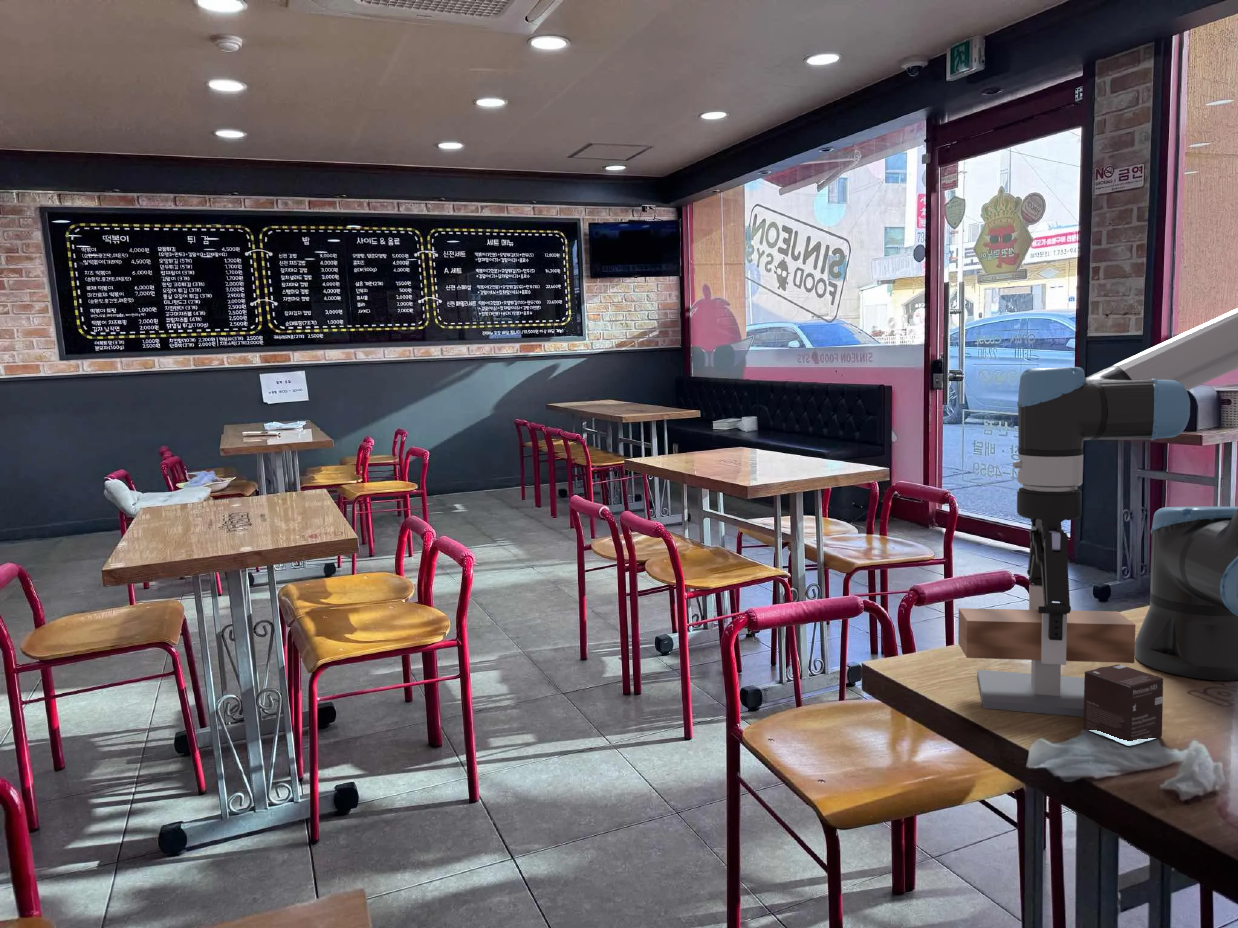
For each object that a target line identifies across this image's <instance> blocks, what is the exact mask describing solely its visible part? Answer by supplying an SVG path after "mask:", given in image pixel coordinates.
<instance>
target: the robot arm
mask: <svg viewBox="0 0 1238 928" xmlns="http://www.w3.org/2000/svg"><path fill="white" fill-rule="evenodd" d="M1237 369H1238V307H1236V308H1235V309H1232V310H1230V311H1228V312H1226V313H1223V314H1221V315H1219V316H1217V317H1215V318H1213V319H1211V320H1209V321H1205V322H1204V323H1202V324H1200V325H1197V326H1195V327H1193V328H1191V329H1189V330H1187V331H1184V332H1182V333H1180V334H1178V335H1176V336H1173V337H1172V338H1170V339H1167V340H1165V341H1163V342H1161V343H1158V344H1156V345H1154V346H1152V347H1150V348H1147V349H1145V350H1143V351H1141V352H1139V353H1137V354H1135V355H1132V356H1130V357H1128V358H1125V359H1123V360H1121V361H1119V362H1117V363H1115V364H1113V365H1111V366H1109V367H1107V368H1104V369H1102V370H1100V371H1097V372H1095V373H1093V374H1090V375H1088V376H1087V377H1086V376H1085V371H1084V369H1083V368H1082V367H1080V366H1065V367H1063V366H1061V367H1060V366H1059V367H1032V368H1027V369H1026V370H1024V371H1023V372H1022V373H1021V375H1020V379H1019V385H1018V395H1017V397H1018V399H1017V403H1016V404H1017V422H1018V423H1017V424H1018V425H1017V427H1018V433H1017V434H1018V437H1017V439H1018V440H1017V441H1018V448H1017V452H1018V453H1017V454H1018V456H1017V458H1018V459H1019V460H1016V461H1013V462H1012V467H1013V469H1018V471H1017V483H1019V485H1022V486H1020V487H1019V488H1018V489H1017V490H1016V513H1017V515H1018V516H1020V517H1021V518H1024V519H1027V520H1030V522H1031V528H1030V529H1029V538H1030V539H1029V540H1030V542H1029V544H1030V545H1029V553H1028V554H1029V556H1028V567H1027V571H1026V574H1027V576H1028V582H1029V587H1028V590H1029V591H1028V597H1029V598H1028V610H1038V613H1042V641H1041V662H1042V663H1044V664H1058V665H1061V666H1067V661H1066V642H1067V613H1070V611H1072V606H1071V601H1070V585H1069V584H1070V583H1069V581H1070V580H1069V563H1068V562H1069V561H1068V559H1069V558H1068V540H1069V535H1068V534H1067V532H1065V530H1064V529H1062V528H1063V527H1062V523H1063V522H1064V521H1073V520H1077V519H1079V518H1080V517H1081V516H1082V505H1083V504H1082V499H1083V492H1082V491H1081V489H1080V488H1078V487H1079V486H1081V485H1082V484H1083V475H1084V474H1083V473H1084V441H1096V440H1150V441H1155V440H1156V439H1157V440H1158V439H1167V438H1169V439H1170V438H1175V437H1178V436H1179V435H1181V434H1182V433H1183V432H1184V430H1185V429H1186V427H1187V426H1188V423H1189V420H1190V416H1191V400H1190V396H1189V393H1188V391H1190V390H1192V389H1195V388H1196V387H1198V386H1201V385H1203V384H1206V383H1209V382H1210V381H1213V380H1214V379H1216V378H1219V377H1221V376H1223V375H1225V374H1228V373H1230V372H1233V371H1235V370H1237ZM1150 535H1151V544H1150V545H1151V546H1150V547H1151V551H1150V552H1151V553H1150V586H1149V587H1150V592H1149V593H1150V594H1149V595H1150V596H1149V597H1150V598H1149V607H1148V610H1147V612H1146V615H1145V617H1144V619H1143V622H1142V623H1141V627H1140V628H1139V631H1138V633H1137V636H1136V637H1135V659H1136V660H1137V661H1138V662H1140V663H1142V664H1143V665H1145V666H1147V667H1148V668H1152V669H1155V670H1157V671H1161V672H1164V673H1167V674H1171V675H1177V676H1181V677H1187V678H1192V679H1200V680H1209V681H1238V506H1219V505H1217V506H1214V505H1213V506H1209V505H1207V506H1205V505H1204V506H1167V507H1166V506H1165V507H1161V508H1158V510H1156V511H1155V512H1154V514H1153V519H1152V526H1151V529H1150Z"/></svg>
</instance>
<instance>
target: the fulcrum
mask: <svg viewBox="0 0 1238 928" xmlns="http://www.w3.org/2000/svg"><path fill="white" fill-rule="evenodd" d="M1030 663H1031V669H1030V671H1031V672H1030V673H1027V672H1014V671H1013V672H1012V671H1003V670H989V669H987V670H986V669H977V674H976V677H977V682H978V687H979V693H980V699H981V703H982V708H983V709H990V710H1002V711H1003V710H1004V711H1012V712H1023V713H1025V712H1026V713H1035V714H1046V715H1055V716H1056V715H1058V716H1068V717H1069V716H1070V717H1078V718H1080V717H1081V718H1084V679H1085V677H1080V676H1069V675H1068V676H1067V675H1066V676H1065V675H1061V674H1062V670H1061V669H1062V665H1058V664H1044V663H1042V662H1041V660H1031V662H1030Z"/></svg>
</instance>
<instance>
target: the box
mask: <svg viewBox="0 0 1238 928" xmlns="http://www.w3.org/2000/svg"><path fill="white" fill-rule="evenodd" d="M1084 678H1085V679H1084V717H1082V719H1083V720H1082V721H1083V724H1082V725H1083V726H1082V728H1083V729H1084V730H1085V731H1087V730H1097V731H1101V732H1103V733H1106V734H1109V735H1111V736H1114V737H1117V738H1119V739H1123V740H1127V741H1133V740H1137V739H1148V738H1157V739H1161V738H1162V737H1163V707H1164V706H1163V705H1164V704H1163V702H1164V677H1161V676H1159V675H1155V674H1152V673H1148V672H1145V671H1142V670H1138V669H1135V668H1133V667H1129V666H1125V665H1123V664H1122V665H1121V664H1114V665H1110V666H1108V665H1107V666H1100V667H1097V668H1095V669H1094V668H1093V669H1091V670H1087V671H1086V670H1085V671H1084ZM1157 739H1156V740H1157Z"/></svg>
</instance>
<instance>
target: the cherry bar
mask: <svg viewBox="0 0 1238 928" xmlns="http://www.w3.org/2000/svg"><path fill="white" fill-rule="evenodd" d="M957 627H958V631H957V632H958V636H957V637H958V638H957V639H958V640H957V641H958V646H959V647H960V649H961V651H962V653H963V654H964V656H965V657H966V658H967V659H987V660H988V659H990V660H993V659H994V660H998V659H999V660H1018V661H1019V660H1021V661H1022V660H1024V661H1028V660H1029V661H1030V660H1041V641H1042V613H1038V610H1029V609H1018V608H1017V609H1013V608H1012V609H1011V608H1010V609H1009V608H1008V609H1007V608H1006V609H1005V608H965V607H962V608H961V607H959V608H958V626H957ZM1135 641H1136V624H1135V622H1133V621H1132V620H1130V619H1128V618H1127V617H1126V616H1124V615H1123V614H1122V613H1121V612H1119V611H1114V610H1113V611H1109V610H1105V611H1104V610H1071V611H1070V613H1067V642H1066V662H1084V663H1085V662H1086V663H1087V662H1088V663H1089V662H1090V663H1091V662H1092V663H1116V664H1117V663H1118V664H1119V663H1120V664H1135V659H1136V657H1135Z"/></svg>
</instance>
